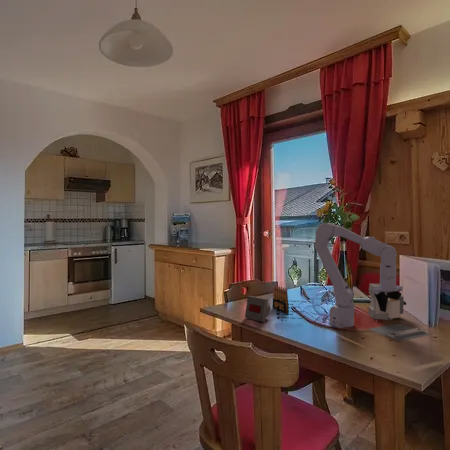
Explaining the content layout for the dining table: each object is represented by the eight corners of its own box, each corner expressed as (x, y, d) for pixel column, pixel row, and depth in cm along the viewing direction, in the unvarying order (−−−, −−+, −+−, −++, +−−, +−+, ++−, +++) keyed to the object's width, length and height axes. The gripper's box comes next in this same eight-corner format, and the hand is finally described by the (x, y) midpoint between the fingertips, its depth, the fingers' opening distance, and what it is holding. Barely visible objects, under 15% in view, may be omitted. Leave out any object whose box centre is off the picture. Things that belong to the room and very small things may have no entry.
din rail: (393, 338, 122) (393, 335, 122) (387, 336, 124) (387, 333, 124) (424, 332, 129) (424, 329, 128) (418, 330, 131) (418, 327, 131)
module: (391, 318, 126) (391, 300, 126) (375, 313, 133) (376, 296, 133) (399, 317, 128) (400, 299, 128) (383, 312, 135) (383, 295, 135)
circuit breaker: (407, 322, 143) (408, 288, 143) (372, 320, 146) (372, 286, 146) (401, 317, 150) (402, 284, 150) (368, 315, 153) (368, 283, 153)
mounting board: (398, 343, 119) (398, 341, 119) (367, 331, 132) (367, 329, 132) (431, 336, 126) (431, 334, 126) (399, 325, 139) (399, 323, 139)
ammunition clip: (272, 308, 165) (272, 284, 165) (275, 307, 166) (275, 284, 166) (285, 313, 156) (285, 288, 155) (288, 313, 156) (289, 288, 156)
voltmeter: (244, 322, 142) (244, 299, 142) (245, 315, 153) (245, 293, 153) (307, 324, 140) (307, 301, 140) (303, 316, 151) (303, 295, 151)
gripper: (383, 279, 124) (382, 315, 124) (409, 276, 130) (409, 311, 130) (368, 276, 130) (367, 310, 130) (394, 273, 136) (393, 306, 136)
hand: (387, 310), depth 131 cm, fingers closed on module, 4 cm apart
